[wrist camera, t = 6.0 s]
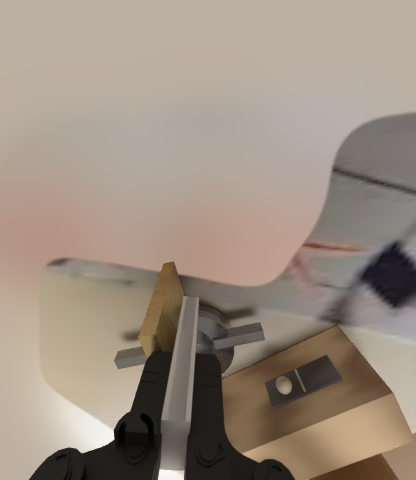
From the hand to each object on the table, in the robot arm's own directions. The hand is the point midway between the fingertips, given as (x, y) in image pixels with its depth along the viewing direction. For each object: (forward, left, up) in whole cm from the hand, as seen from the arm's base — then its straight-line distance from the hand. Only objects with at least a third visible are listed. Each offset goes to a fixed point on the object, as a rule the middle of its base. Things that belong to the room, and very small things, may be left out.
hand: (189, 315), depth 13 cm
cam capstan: (+3, +4, -4) cm, 6 cm away
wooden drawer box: (-1, +14, -4) cm, 15 cm away
